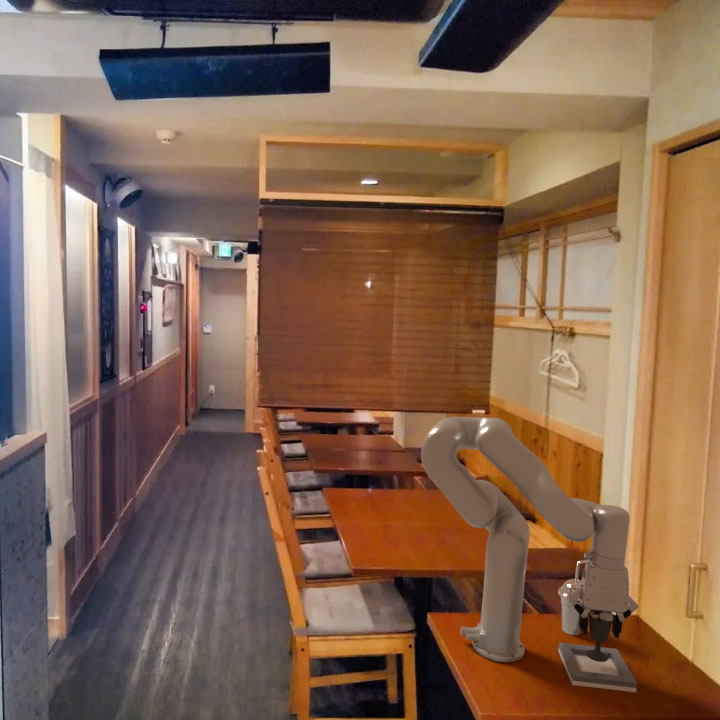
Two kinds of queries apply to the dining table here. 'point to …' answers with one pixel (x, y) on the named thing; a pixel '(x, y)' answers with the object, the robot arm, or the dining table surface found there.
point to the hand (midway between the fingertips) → (599, 632)
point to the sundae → (599, 632)
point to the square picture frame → (596, 668)
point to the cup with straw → (568, 611)
